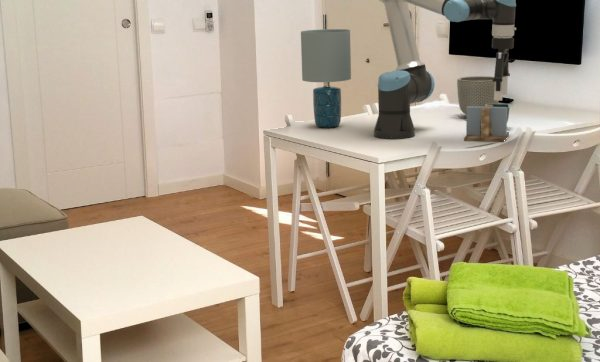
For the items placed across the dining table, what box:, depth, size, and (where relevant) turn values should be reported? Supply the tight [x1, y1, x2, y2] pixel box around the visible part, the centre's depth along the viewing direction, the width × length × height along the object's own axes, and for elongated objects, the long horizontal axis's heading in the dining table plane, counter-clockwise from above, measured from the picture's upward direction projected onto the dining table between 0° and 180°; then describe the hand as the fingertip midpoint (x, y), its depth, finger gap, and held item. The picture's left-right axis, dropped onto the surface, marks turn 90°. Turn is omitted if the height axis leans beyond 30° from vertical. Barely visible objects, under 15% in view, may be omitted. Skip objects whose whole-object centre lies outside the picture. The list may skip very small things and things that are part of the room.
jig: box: [464, 105, 510, 143], centre depth 320 cm, size 14×13×11 cm
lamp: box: [300, 28, 352, 129], centre depth 352 cm, size 19×19×38 cm
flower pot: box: [486, 103, 511, 123], centre depth 338 cm, size 9×9×9 cm
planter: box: [456, 75, 500, 116], centre depth 364 cm, size 17×17×16 cm
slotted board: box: [465, 106, 508, 136], centre depth 320 cm, size 14×2×10 cm, turn 70°
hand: (500, 97), depth 317 cm, fingers open, 13 cm apart
